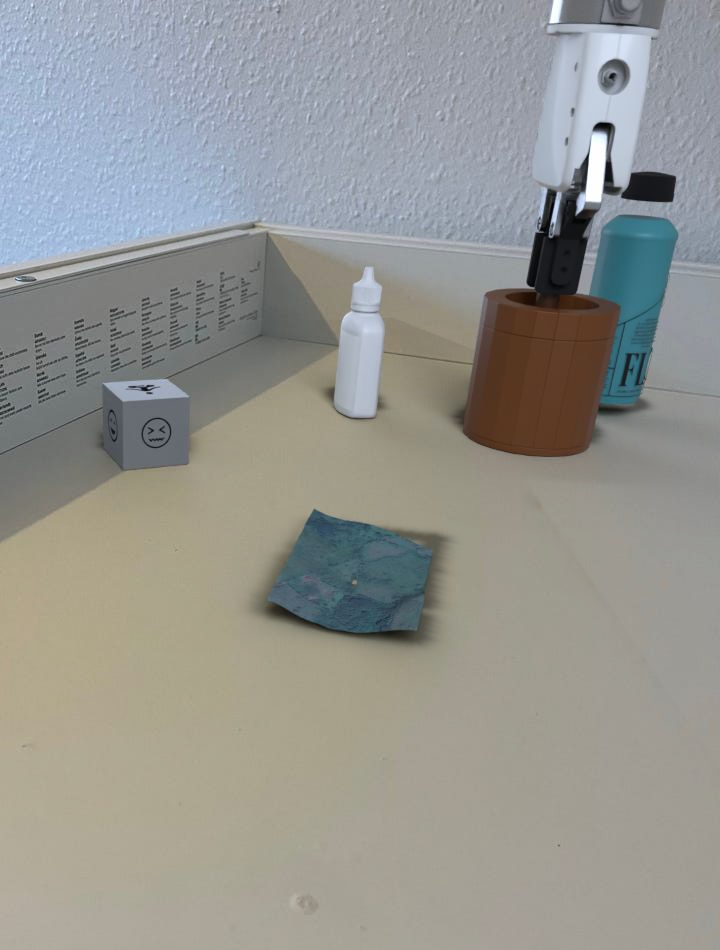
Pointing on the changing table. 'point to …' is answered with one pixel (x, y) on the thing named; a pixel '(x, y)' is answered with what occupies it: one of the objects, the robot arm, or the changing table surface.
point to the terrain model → (353, 577)
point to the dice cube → (146, 423)
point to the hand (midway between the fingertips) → (550, 288)
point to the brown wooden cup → (539, 372)
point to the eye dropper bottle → (360, 351)
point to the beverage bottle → (635, 283)
